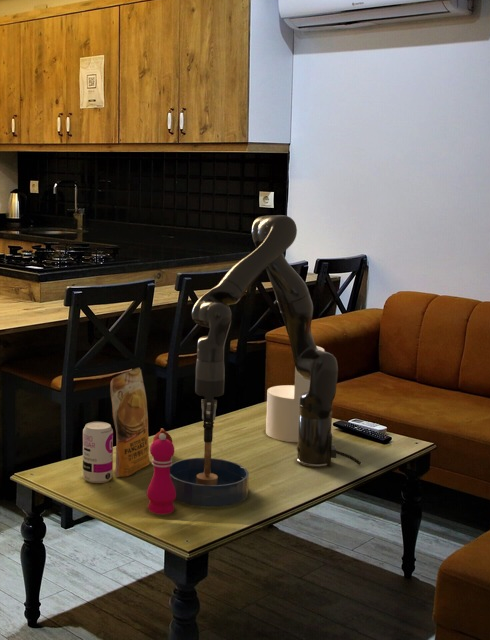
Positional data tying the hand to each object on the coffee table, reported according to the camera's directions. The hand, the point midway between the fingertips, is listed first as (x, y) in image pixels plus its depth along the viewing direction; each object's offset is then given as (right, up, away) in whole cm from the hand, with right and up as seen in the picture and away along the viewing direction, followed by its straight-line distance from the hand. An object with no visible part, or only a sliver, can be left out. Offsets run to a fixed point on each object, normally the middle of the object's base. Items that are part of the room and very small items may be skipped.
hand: (208, 440), depth 232 cm
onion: (-10, -10, +30) cm, 33 cm away
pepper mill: (-13, -15, -13) cm, 24 cm away
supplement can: (-29, -12, +9) cm, 33 cm away
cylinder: (+33, -7, +51) cm, 61 cm away
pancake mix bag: (-20, -11, +17) cm, 29 cm away
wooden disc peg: (0, -12, +2) cm, 12 cm away
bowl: (0, -14, -1) cm, 14 cm away
